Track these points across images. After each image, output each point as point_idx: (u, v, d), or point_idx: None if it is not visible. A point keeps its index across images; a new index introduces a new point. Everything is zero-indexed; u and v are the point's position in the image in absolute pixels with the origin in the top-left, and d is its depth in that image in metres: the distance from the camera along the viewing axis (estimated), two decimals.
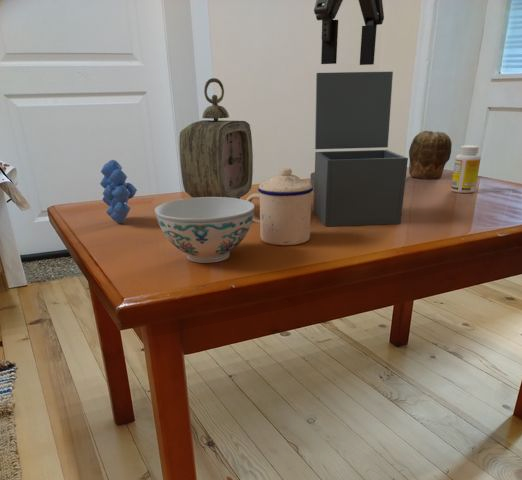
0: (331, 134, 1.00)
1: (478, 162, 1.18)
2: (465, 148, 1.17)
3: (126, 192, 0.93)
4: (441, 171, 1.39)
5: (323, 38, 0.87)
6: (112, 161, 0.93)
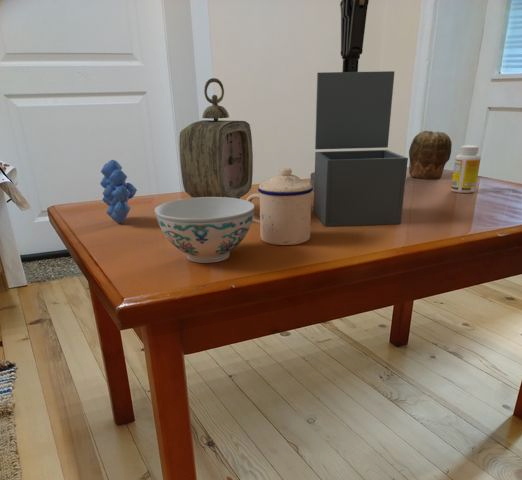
0: (331, 134, 0.99)
1: (478, 162, 1.18)
2: (465, 148, 1.17)
3: (126, 192, 0.93)
4: (441, 171, 1.39)
5: None
6: (112, 161, 0.93)
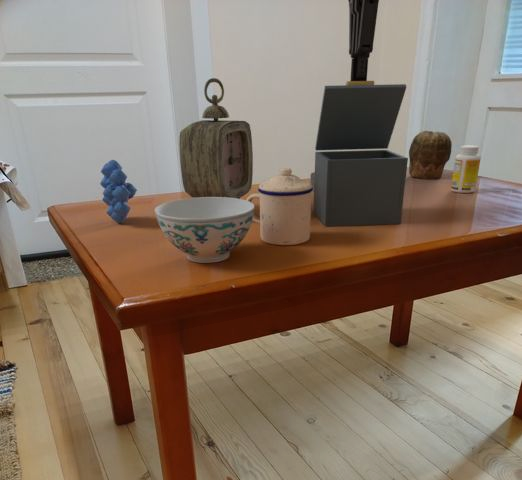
0: (333, 139, 0.99)
1: (478, 162, 1.18)
2: (465, 148, 1.17)
3: (126, 192, 0.93)
4: (441, 171, 1.39)
5: (359, 75, 0.92)
6: (112, 161, 0.93)
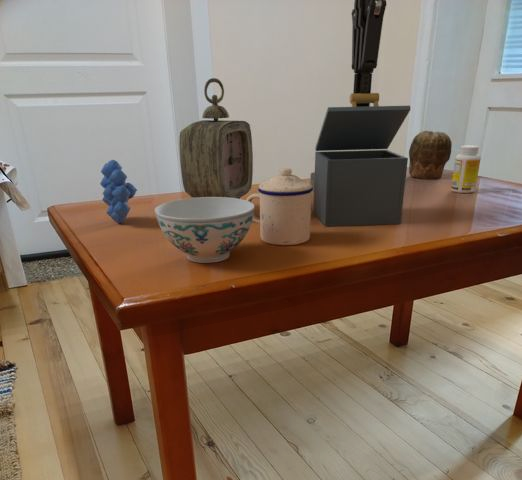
0: (333, 143, 0.98)
1: (478, 162, 1.18)
2: (465, 148, 1.17)
3: (126, 192, 0.93)
4: (441, 171, 1.39)
5: (363, 90, 0.90)
6: (112, 161, 0.93)
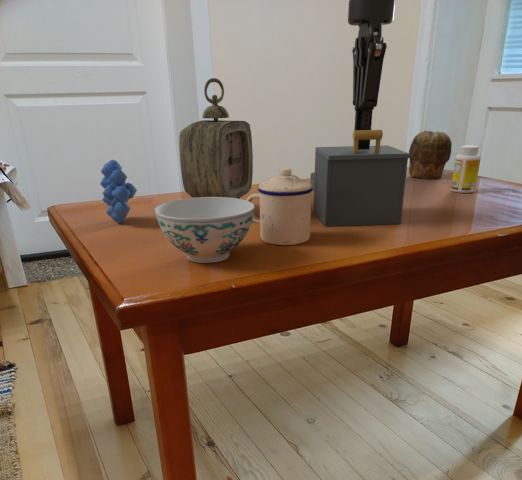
0: None
1: (478, 162, 1.18)
2: (465, 148, 1.17)
3: (126, 192, 0.93)
4: (441, 171, 1.39)
5: (363, 127, 0.91)
6: (112, 161, 0.93)
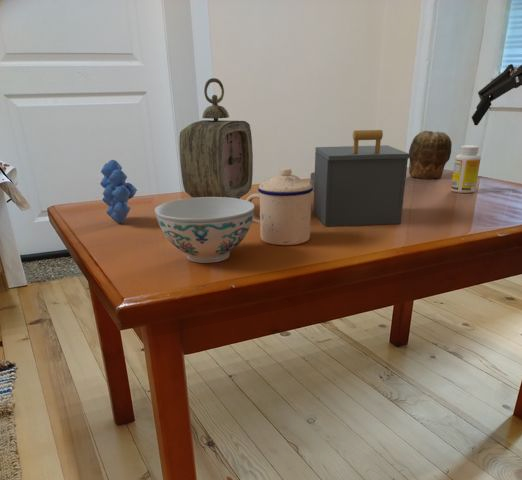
0: None
1: (478, 162, 1.18)
2: (465, 148, 1.17)
3: (126, 192, 0.93)
4: (441, 171, 1.39)
5: None
6: (112, 161, 0.93)
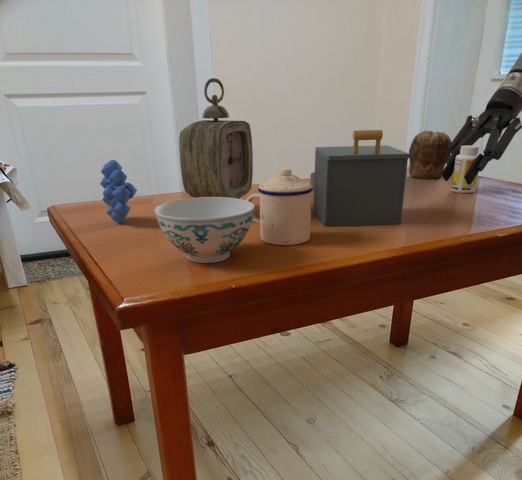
0: None
1: None
2: (465, 148, 1.17)
3: (126, 192, 0.93)
4: (441, 171, 1.39)
5: (481, 167, 1.16)
6: (112, 161, 0.93)
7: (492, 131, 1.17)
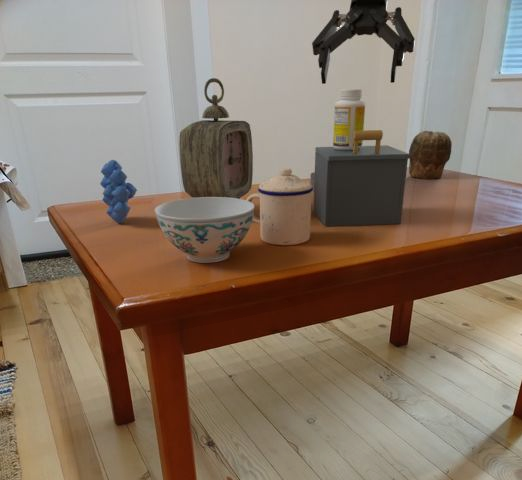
0: None
1: (364, 109, 0.93)
2: (350, 91, 0.91)
3: (126, 192, 0.93)
4: (441, 171, 1.39)
5: (402, 60, 0.99)
6: (112, 161, 0.93)
7: (383, 26, 1.01)
